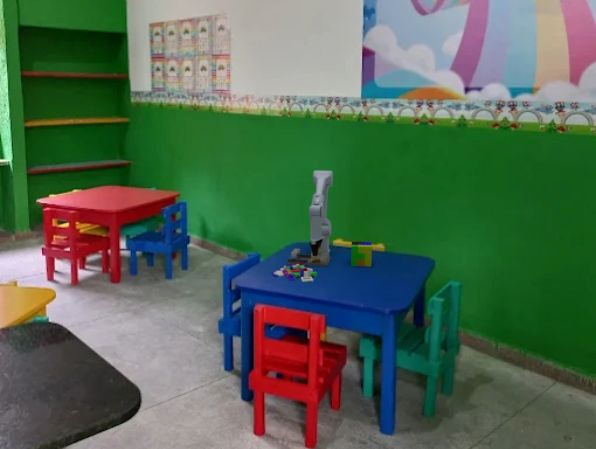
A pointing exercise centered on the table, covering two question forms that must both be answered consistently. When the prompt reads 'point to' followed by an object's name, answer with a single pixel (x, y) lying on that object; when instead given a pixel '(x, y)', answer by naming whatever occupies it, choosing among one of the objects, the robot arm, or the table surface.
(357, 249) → the puzzle toy
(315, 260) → the press bed
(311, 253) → the housing
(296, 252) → the ram
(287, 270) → the building block set
